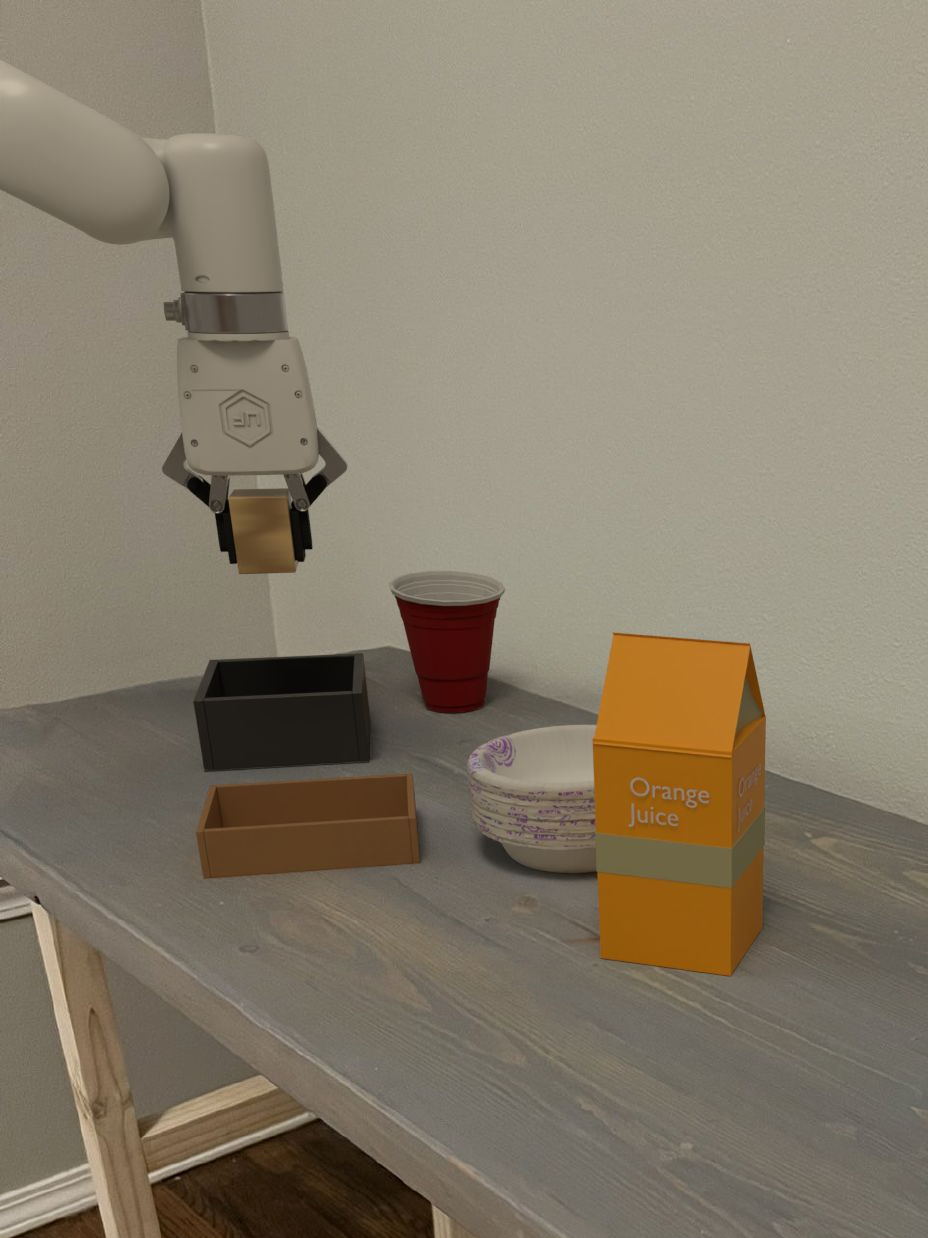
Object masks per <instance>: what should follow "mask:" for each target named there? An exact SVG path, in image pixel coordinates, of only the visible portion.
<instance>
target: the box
mask: <svg viewBox="0 0 928 1238" xmlns="http://www.w3.org/2000/svg"><path fill="white" fill-rule="evenodd" d="M415 792H416V791H415V782H414V774H413V773H412V772H411V773H396V774H395V773H394V774H378V775H361V776H360V775H359V776H345V777H327V778H310V779H308V778H307V779H294V780H275V781H274V780H273V781H259V782H244V783H243V782H242V783H241V782H240V783H225V784H223V783H222V784H210V785H209V787H208V790H207V793H206V798H205V800H204V804H203V807H202V811H201V814H200V818H199V821H198V823H197V828H196V830H195V836H196V841H197V847H198V853H199V860H200V865H201V871H202V878H203V879H204V880H210V879H221V878H222V879H223V878H236V877H237V878H238V877H252V876H253V877H254V876H265V875H266V876H267V875H279V874H281V875H282V874H293V873H295V874H296V873H306V872H307V873H309V872H321V871H335V870H348V869H349V870H350V869H363V868H378V867H379V868H380V867H392V866H394V867H395V866H407V865H420V864H421V861H420V859H421V858H420V846H419V845H420V844H419V830H418V815H417V814H418V813H417V802H416V794H415Z"/></svg>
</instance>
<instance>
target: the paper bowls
mask: <svg viewBox="0 0 928 1238" xmlns="http://www.w3.org/2000/svg"><path fill="white" fill-rule="evenodd" d="M596 726H597V724H565V725H564V724H563V725H552V726H545V727H538V728H532V729H526V730H521V731H517V732H512V733H508V734H506V735H502V736H499V737H496V738H493V739H492V740H490V741H487V742H485V743H483V744H481V745H479V746H478V747H476V748H475V750H473V752H471V754H470V755H469V757H468V759H467V761H466V769H467V779H468V780H467V785H468V793H469V801H470V803H469V804H470V806H469V807H470V809H471V810H470V811H471V817H472V822H473V825H474V827H475V829H476V830H478V832H480V833H481V834H482V835H483V836H486V837H487V838H489V839H491V840H493V841H496V842H499V843H501V845H502V847H503V848H504V850H505V851H506V854H508V856H509V857H510V858H511V859H512V860H514V861H515V862H517V863H518V864H520V865H521V866H524V867H527V868H530V869H533V870H538V871H542V872H546V873H547V872H549V873H554V874H555V873H558V874H585V873H586V874H587V873H595V872H596V873H597V870H596V843H595V833H596V820H595V794H594V768H593V741H592V738H594V737H595V731H596Z"/></svg>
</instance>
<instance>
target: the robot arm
mask: <svg viewBox="0 0 928 1238" xmlns="http://www.w3.org/2000/svg"><path fill="white" fill-rule="evenodd" d="M271 179H272V178H271V171H270V165H269V158H268V156H267V152H266V151H265V148H264V147H263V146H262V145H261V143H259V142H258V141H257V140H256V139H254V138H252V137H249V136H245V135H240V134H231V133H230V134H229V133H205V132H203V133H199V132H198V133H196V132H195V133H193V132H192V133H180V134H175V135H173V136H170V137H169V138H167V139H164V138H155V137H153V138H152V137H148V136H147V137H146V136H140V135H138V134H137V133H136V132H135V131H133V130H131V129H130V128H128V127H126V126H124V125H123V124H121V123H119V122H118V121H116V120H113V119H112V118H110V117H108V116H107V115H105V114H102V113H101V112H99V111H97V110H95V109H93V108H92V107H90V106H87V105H86V104H84V103H82V102H81V101H79V100H77V99H76V98H73V97H72V96H69V95H67V94H65V93H64V92H62V91H60V90H58V89H56V88H55V87H52V86H51V85H50V84H47V83H45V82H43V81H41V80H40V79H38V78H36V77H34V76H32V75H30V74H28V73H26V72H25V71H23V70H21V69H19V68H18V67H15V66H13V65H12V64H11V63H10V64H9V63H8V62H6V61H4V60H2V59H0V191H2V192H4V193H6V194H8V195H10V196H12V197H15V198H16V199H19V200H20V201H22V202H24V203H26V204H28V205H29V206H32V207H34V208H35V209H38V210H40V211H42V212H44V213H46V214H48V215H49V216H52V217H53V218H55V219H57V220H60V221H61V222H63V223H65V224H67V225H69V226H71V227H73V228H75V229H77V230H79V231H81V232H82V233H84V234H86V235H87V236H89V237H90V238H93V239H94V240H97V241H99V242H103V243H106V244H111V245H118V246H120V245H123V246H124V245H132V244H136V243H139V242H145V241H152V240H161V239H173V242H174V248H175V255H176V262H177V263H176V264H177V267H178V275H179V282H180V289H181V293H179V294H180V296H179V297H178V298H177V299H173V301H163V313H164V318H165V320H166V321H167V322H176V323H177V324H178V323H179V324H180V323H181V326H184V328H185V331H187V336H186V337H181V338H177V345H176V377H177V378H176V379H177V393H178V407H179V413H180V414H179V415H180V416H179V417H180V427H181V433H180V435H179V436H178V438H177V439H176V442H175V443H174V445H173V447H172V448H171V451H170V452H169V454H168V455H167V457H166V459H165V461H164V463H163V464H162V467H161V471H162V473H163V474H164V475H165V477H167V478H169V479H171V480H173V481H174V482H175V483H177V484H178V485H180V486H182V487H184V488H186V489H187V490H188V491H189V492H190V493H192V494H193V496H195V497H196V498H197V499H199V501H201V502H202V503H203V504H204V505H205V506H206V507H208V508H209V510H210V512H212V513H213V514H214V519H215V525H216V531H217V538H218V539H217V540H218V546H219V551H220V552H221V553H227V555H228V561H229V565H238V564H237V557H236V550H235V543H234V536H233V529H232V522H231V515H230V507H229V500H228V498H229V496H230V494H229V493H230V486H231V485H230V484H231V476H234V477H235V476H281V475H282V476H283V478H284V481H285V483H286V486H287V488H288V489H289V492H290V494H291V501H292V503H291V508H292V509H291V511H290V522H291V530H292V538H293V546H294V554H295V560H297V561H298V562H299V563H304V562H305V560H306V557H307V553H306V551H308V550H313V536H312V529H311V520H310V519H311V518H310V509H309V508H310V507H311V506H312V505H313V504H314V503H315V501H316V500H317V499H318V498H319V497H320V495H322V493H323V492H324V491H325V490H326V489H327V487H329V486H330V485H331V484H333V483H334V482H335V481H336V480H338V479H339V478H340V477H341V476H342V475H343V474H345V473H346V472H347V471H348V461H347V460H346V459H345V457H344V456H343V455H342V454H341V453H340V452H339V450H338V449H337V448H336V447H335V445H333V443H332V442H331V441H330V439H328V437H327V436H326V435H325V433H323V431H322V430H321V429H320V428H319V426H318V424H317V417H316V410H315V404H314V398H313V394H312V393H313V392H312V390H311V389H312V388H311V383H310V378H309V374H308V369H307V365H306V361H305V357H304V353H303V349H302V346H301V342H300V341H299V338H298V337H297V336H296V337H295V336H290V332H289V324H288V316H287V306H286V298H285V292H284V282H283V273H282V265H281V256H280V248H279V239H278V230H277V222H276V213H275V206H274V204H275V203H274V196H273V187H272V180H271ZM319 456H320V458H322V459H323V461H324V463H325V465H324V466H323V467H322V468H321V469H320V470H319V471H318V472H316V473H315V474H314V475H313V476H312V477H311V478H310V479H309V480H308V482H306V480H305V477H304V474H305V473H307V472H309V471H312V469H314V468H316V467H317V465H318V463H319ZM186 462H187V463H186ZM186 464H187V465H188V467H189V468H190V469H189V468H188V467H187V465H186ZM196 473H197V474H196ZM200 474H201V475H203V476H204V475H205V476H211V479H210V483H209V482H208V480H206V479H205V478H203V476H201V475H200Z"/></svg>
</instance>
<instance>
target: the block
mask: <svg viewBox="0 0 928 1238" xmlns="http://www.w3.org/2000/svg"><path fill="white" fill-rule="evenodd" d="M228 500H229V507H230V515H231V522H232V529H233V536H234V543H235V550H236V557H237V564H236V565H237V570H238V574H239V575H257V574H258V575H262V574H263V575H264V574H291V573H292V574H294V573H295V574H296V572H297V569H298V566H299V563H300V562H298V561H297V560H295V554H294V546H293V538H292V530H291V522H290V511H291V509H292V508H291V503H292V497H291V494H290V492H289V489H288V487H286V488H285V487H284V488H283V487H282V488H279V487H278V488H238V489H237V488H236V489H235V488H234V489H233V490H232V492H231V493H230V494H229V496H228Z"/></svg>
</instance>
